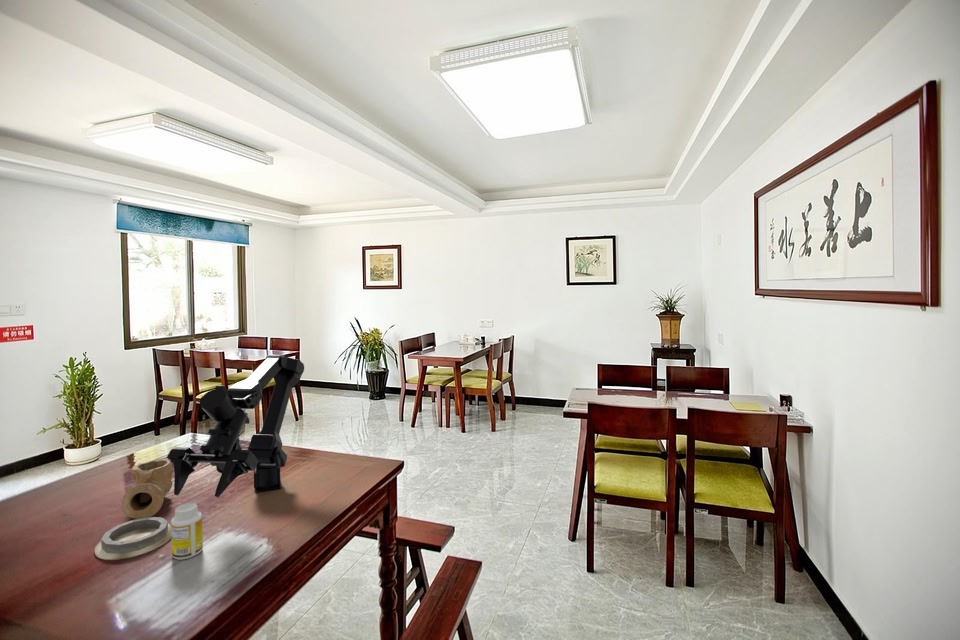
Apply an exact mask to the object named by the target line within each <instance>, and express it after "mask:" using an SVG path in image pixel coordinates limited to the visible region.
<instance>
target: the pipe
mask: <svg viewBox="0 0 960 640" xmlns="http://www.w3.org/2000/svg"><path fill="white" fill-rule="evenodd" d="M173 472H174V471H173V467H172V463H171V462H170V460H169V459H161V460H157V461H156V460H150V461H145V462H141V463H140V462H139V463H137V464H134V465H133V467H132V469H131V472H130V475H131V476H130V477H131V479H132V480H133V481H134V483H135V486H133V487H130V488H129V489H128V490H127V491H126V492H125V494H124V495H123V496H122V500H121V504H122V505H121V508H122V512H123V514H124V515H125V516H126V517H128V518H131V519H134V520H135V519H141V518H147V517H154V515H157V513H159V511H160V509H161V508H162V507H163V503H164V502H165V496H166V495H167V494H169V492H170V491H171V489H172V487H173V481H172V476H173Z"/></svg>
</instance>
